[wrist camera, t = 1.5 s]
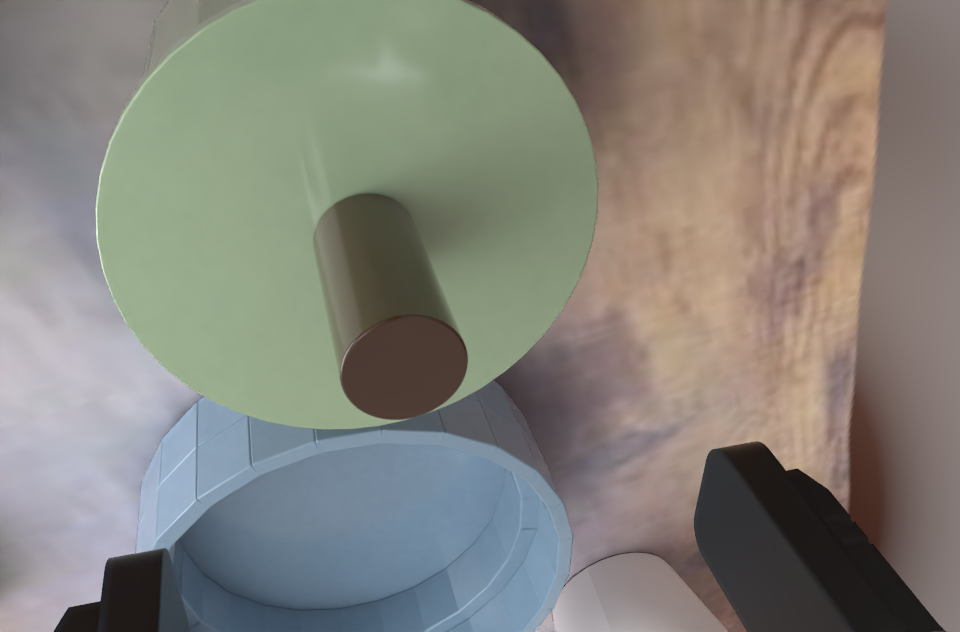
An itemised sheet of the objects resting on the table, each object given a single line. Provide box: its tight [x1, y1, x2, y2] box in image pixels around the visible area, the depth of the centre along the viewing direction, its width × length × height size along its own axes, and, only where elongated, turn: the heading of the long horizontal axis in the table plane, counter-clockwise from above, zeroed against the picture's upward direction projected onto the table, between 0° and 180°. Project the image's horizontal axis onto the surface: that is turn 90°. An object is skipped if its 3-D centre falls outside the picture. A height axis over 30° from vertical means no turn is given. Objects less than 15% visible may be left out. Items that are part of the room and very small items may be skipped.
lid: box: [95, 0, 598, 429], centre depth 18 cm, size 11×11×6 cm
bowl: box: [135, 380, 573, 632], centre depth 34 cm, size 16×16×6 cm
